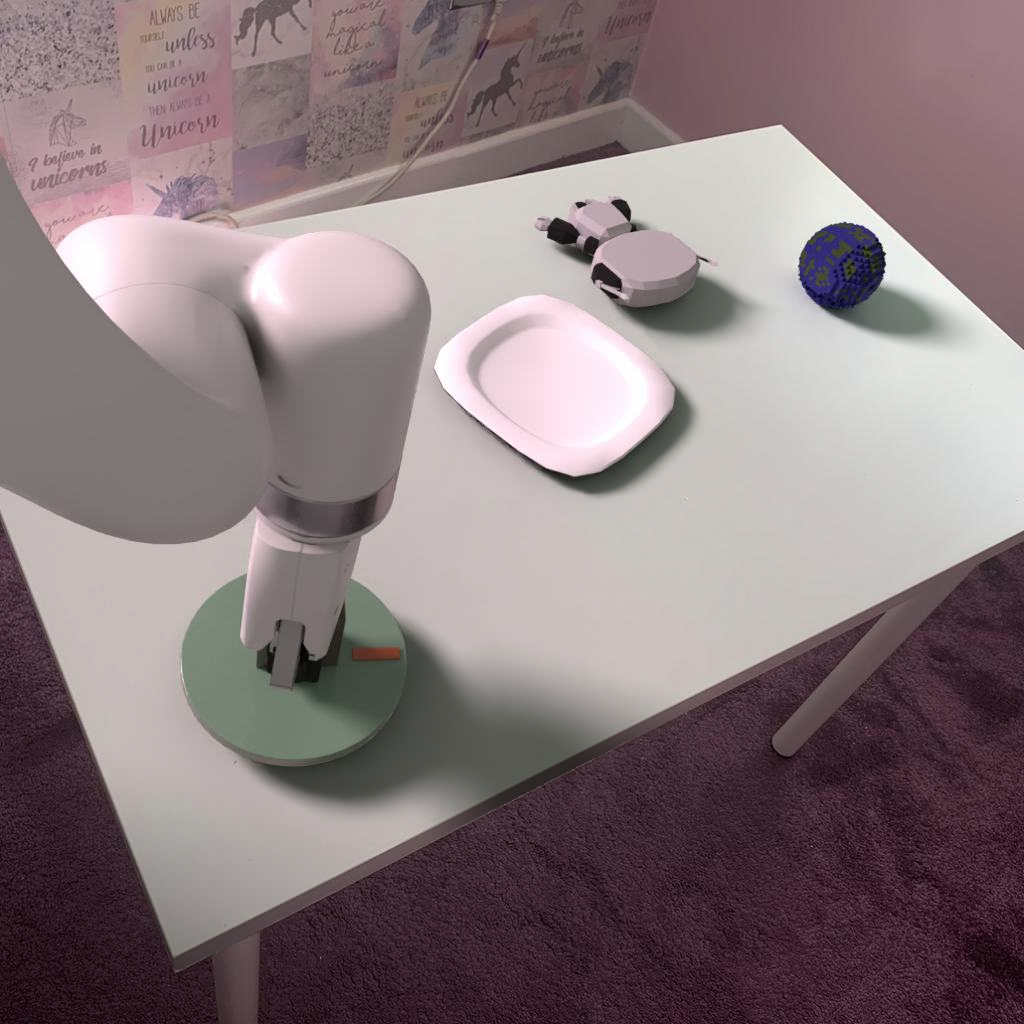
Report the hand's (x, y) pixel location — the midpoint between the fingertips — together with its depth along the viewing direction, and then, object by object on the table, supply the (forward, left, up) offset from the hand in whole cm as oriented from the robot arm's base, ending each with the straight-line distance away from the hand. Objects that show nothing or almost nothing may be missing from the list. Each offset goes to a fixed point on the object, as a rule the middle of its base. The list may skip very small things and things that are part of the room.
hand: (299, 651), depth 66 cm
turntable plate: (0, 0, -2) cm, 2 cm away
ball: (+61, +33, -4) cm, 69 cm away
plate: (+27, +23, -4) cm, 36 cm away
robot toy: (+39, +38, -4) cm, 55 cm away
